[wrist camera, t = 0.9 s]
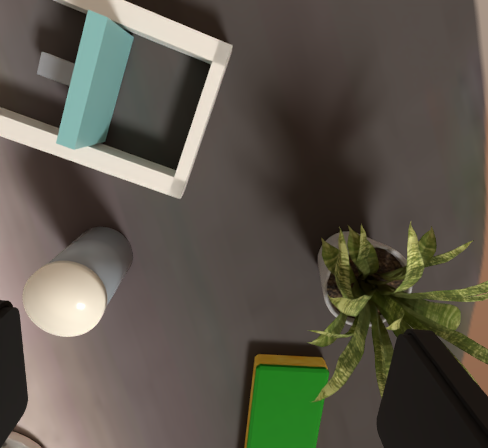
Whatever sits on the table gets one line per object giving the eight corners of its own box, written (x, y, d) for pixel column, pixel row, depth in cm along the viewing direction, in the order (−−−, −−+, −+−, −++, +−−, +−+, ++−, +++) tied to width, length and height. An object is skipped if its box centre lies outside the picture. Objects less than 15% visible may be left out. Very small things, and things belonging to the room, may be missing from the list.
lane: (184, 191, 34) (177, 205, 29) (-83, 97, 31) (-140, 95, 26) (231, 51, 31) (233, 40, 26) (-59, -69, 28) (-119, -107, 23)
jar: (124, 289, 36) (92, 345, 27) (66, 271, 35) (15, 323, 27) (141, 237, 35) (113, 280, 26) (81, 217, 34) (31, 254, 25)
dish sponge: (242, 458, 43) (243, 478, 41) (254, 351, 39) (256, 366, 37) (305, 461, 43) (310, 480, 41) (324, 354, 40) (330, 370, 37)
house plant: (452, 189, 35) (638, 255, 19) (414, 325, 38) (542, 473, 23) (296, 170, 34) (357, 224, 18) (272, 312, 37) (305, 458, 22)
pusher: (105, 141, 32) (74, 149, 25) (41, 118, 31) (-7, 121, 25) (133, 37, 30) (107, 17, 23) (66, 10, 29) (20, -19, 23)
